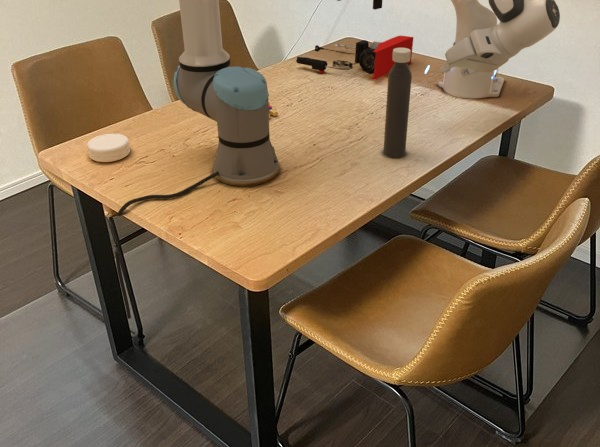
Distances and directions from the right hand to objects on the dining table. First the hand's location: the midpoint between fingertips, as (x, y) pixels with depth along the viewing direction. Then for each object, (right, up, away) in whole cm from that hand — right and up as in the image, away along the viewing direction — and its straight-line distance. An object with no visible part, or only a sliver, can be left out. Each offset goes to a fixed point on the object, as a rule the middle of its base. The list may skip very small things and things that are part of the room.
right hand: (452, 72), depth 166 cm
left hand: (-25, +18, 0) cm, 31 cm away
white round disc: (-88, -23, -12) cm, 92 cm away
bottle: (-18, -23, -13) cm, 32 cm away
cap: (-18, -2, -27) cm, 32 cm away
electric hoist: (-23, +13, +44) cm, 51 cm away
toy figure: (-53, -9, +10) cm, 55 cm away
